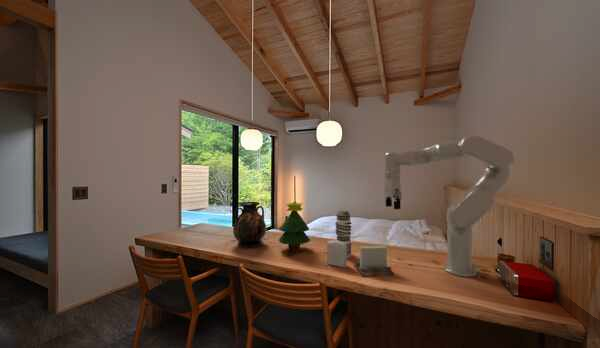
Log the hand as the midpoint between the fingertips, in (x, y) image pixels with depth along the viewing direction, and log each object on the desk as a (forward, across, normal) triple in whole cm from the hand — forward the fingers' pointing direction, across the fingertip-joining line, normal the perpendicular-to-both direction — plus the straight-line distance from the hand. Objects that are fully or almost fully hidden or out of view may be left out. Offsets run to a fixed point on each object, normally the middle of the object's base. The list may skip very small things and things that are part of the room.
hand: (392, 207), depth 123 cm
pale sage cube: (+27, +11, -15) cm, 33 cm away
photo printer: (+29, +3, -31) cm, 42 cm away
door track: (+28, +11, -15) cm, 34 cm away
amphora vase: (+28, -34, -81) cm, 92 cm away
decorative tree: (+28, -22, -52) cm, 63 cm away
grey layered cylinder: (+28, -11, -24) cm, 39 cm away
